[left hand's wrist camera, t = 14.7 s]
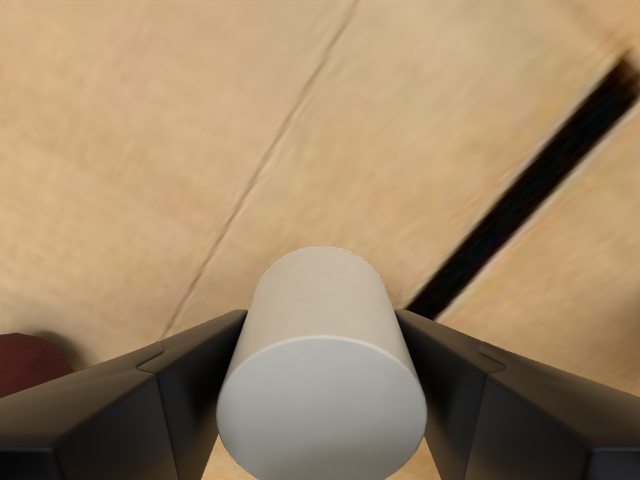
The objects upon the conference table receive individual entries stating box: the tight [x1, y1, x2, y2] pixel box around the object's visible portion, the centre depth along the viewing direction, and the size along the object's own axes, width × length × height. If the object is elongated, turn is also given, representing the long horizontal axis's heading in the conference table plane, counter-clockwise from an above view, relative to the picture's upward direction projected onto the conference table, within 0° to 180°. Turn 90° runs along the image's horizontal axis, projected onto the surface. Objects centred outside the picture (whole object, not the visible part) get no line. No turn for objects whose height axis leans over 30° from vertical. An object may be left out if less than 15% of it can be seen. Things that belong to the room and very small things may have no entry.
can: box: [216, 246, 427, 480], centre depth 10 cm, size 5×5×5 cm
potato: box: [0, 333, 74, 399], centre depth 22 cm, size 7×8×7 cm
